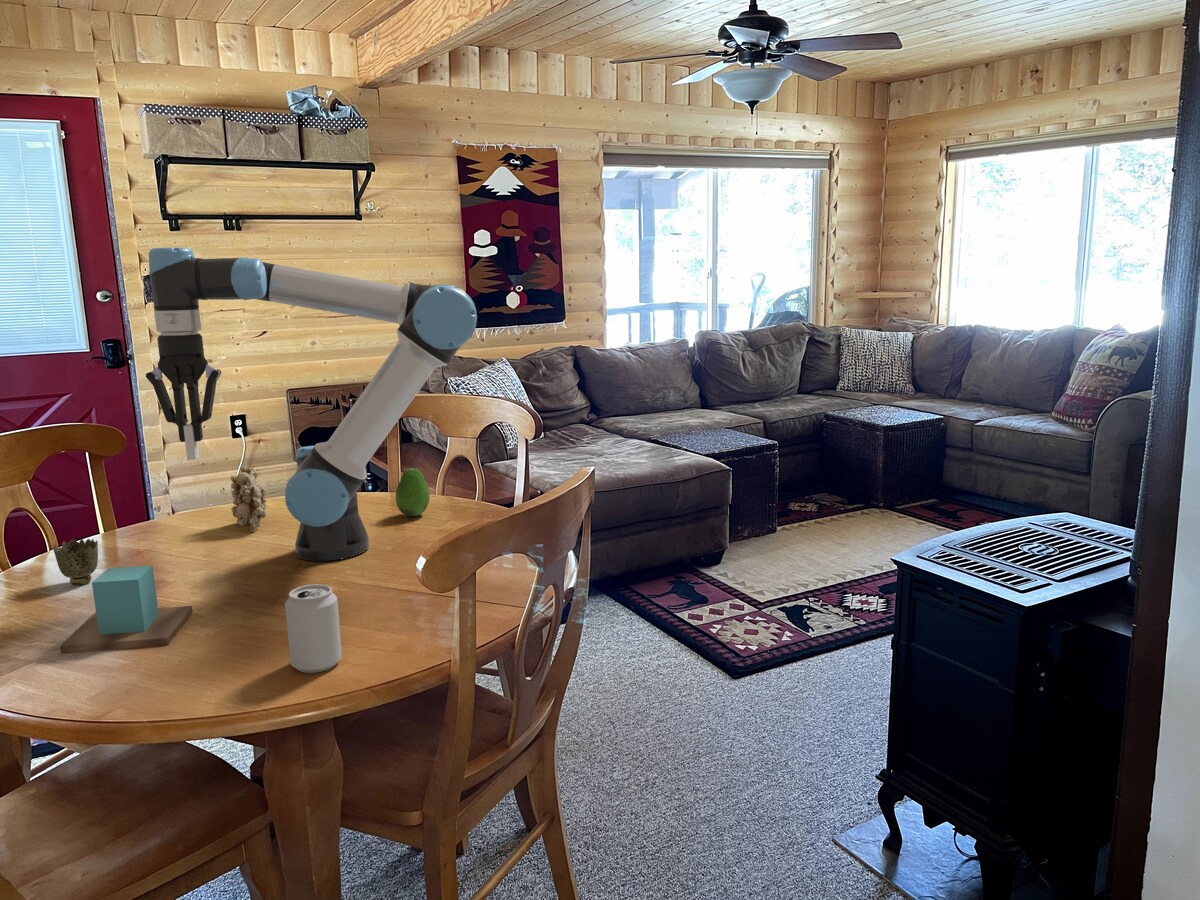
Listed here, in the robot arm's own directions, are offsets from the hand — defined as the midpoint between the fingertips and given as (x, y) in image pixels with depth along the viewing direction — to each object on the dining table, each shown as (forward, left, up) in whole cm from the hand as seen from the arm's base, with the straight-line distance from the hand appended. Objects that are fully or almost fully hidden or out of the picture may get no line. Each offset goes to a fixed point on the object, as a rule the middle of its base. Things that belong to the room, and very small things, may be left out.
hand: (193, 458), depth 166 cm
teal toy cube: (+6, +24, -23) cm, 34 cm away
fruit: (-38, -38, -25) cm, 59 cm away
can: (-27, +43, -25) cm, 56 cm away
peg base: (+6, +24, -24) cm, 35 cm away
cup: (+24, -3, -25) cm, 35 cm away
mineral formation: (-1, -36, -25) cm, 44 cm away
